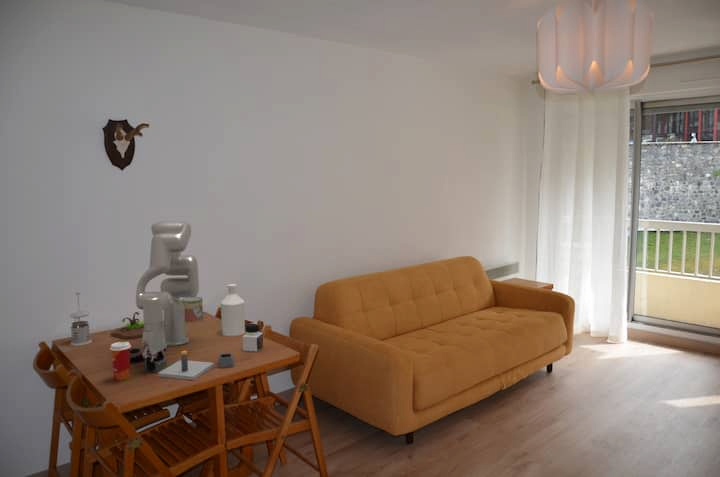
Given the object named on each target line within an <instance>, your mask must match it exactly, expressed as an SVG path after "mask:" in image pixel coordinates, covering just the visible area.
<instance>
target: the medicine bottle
mask: <svg viewBox="0 0 720 477" xmlns="http://www.w3.org/2000/svg"><path fill="white" fill-rule="evenodd" d="M263 339H264V334H263V332H260V324H258V323H257V322H250V323H247V324H245V333H244V334H243V335H242V351H244V352H253V351H254V353H255V352H256V353H258V352H259V351H260V350H261V349H263V347H264V340H263Z"/></svg>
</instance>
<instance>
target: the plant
mask: <svg viewBox="0 0 720 477" xmlns="http://www.w3.org/2000/svg"><path fill="white" fill-rule="evenodd" d="M136 315H137V316H139V315H140V312H139V311H136V312H134V313H133V316H132V319H131V318H130V317H124V318H123V319H122V320H121V322H122V323H123V324H124V325H125V326H123V327H118V328H115V329H114V330H111V333H110V335H111V337H112V338H117V339H121V340H123V341H124V340H125V341H126V340H129V341H130V340H137V339H142V338H143V331H144V320H143V321H141V320H140V319H139V318H136ZM126 320H129V321H128V322H125V321H126Z"/></svg>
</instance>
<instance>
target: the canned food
mask: <svg viewBox="0 0 720 477" xmlns="http://www.w3.org/2000/svg"><path fill="white" fill-rule="evenodd" d="M180 300H181V301H182V303H183V304H184V312H185V323H197V322H201V321H203V320H204V311H203V309H204V308H203V297H202V296H195V297H181V299H180Z"/></svg>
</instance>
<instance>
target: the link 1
mask: <svg viewBox="0 0 720 477" xmlns="http://www.w3.org/2000/svg"><path fill="white" fill-rule="evenodd" d="M153 361H154V371H149V370H147V361H144V372H151V373H159V372H161V371H162V370H164V369H166V368H167V358H166V357H164V358H158V357H157V356H154V358H153Z"/></svg>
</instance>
